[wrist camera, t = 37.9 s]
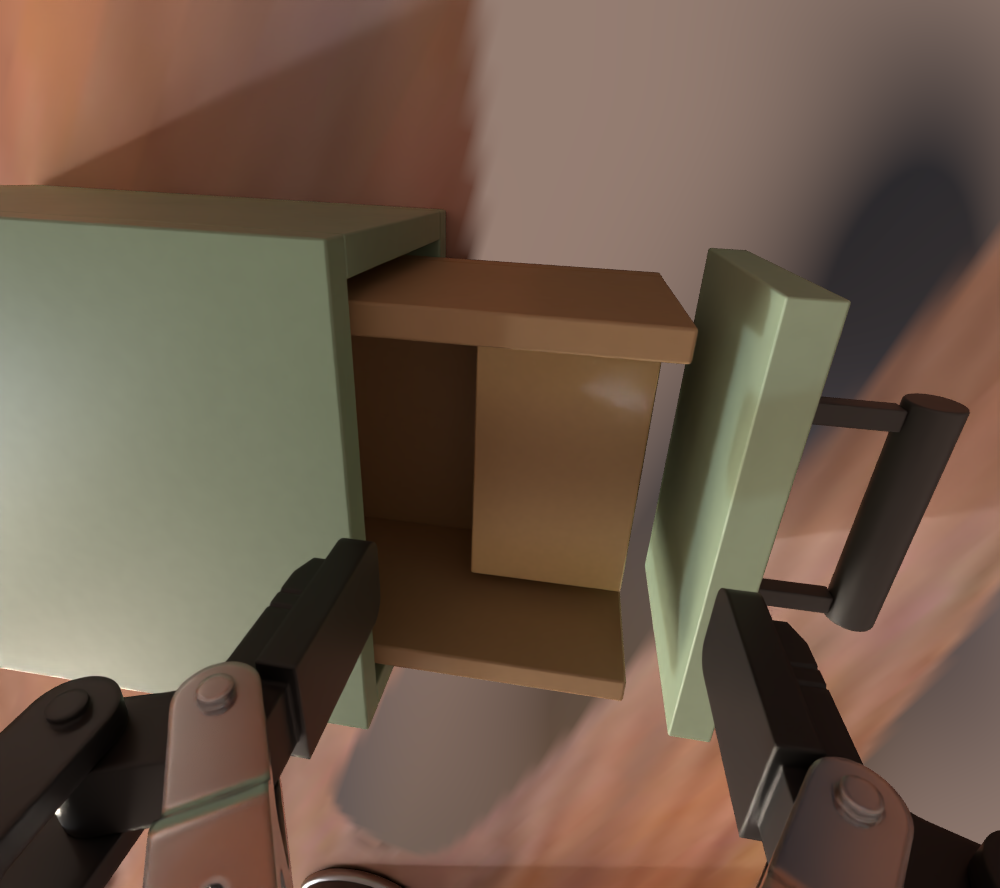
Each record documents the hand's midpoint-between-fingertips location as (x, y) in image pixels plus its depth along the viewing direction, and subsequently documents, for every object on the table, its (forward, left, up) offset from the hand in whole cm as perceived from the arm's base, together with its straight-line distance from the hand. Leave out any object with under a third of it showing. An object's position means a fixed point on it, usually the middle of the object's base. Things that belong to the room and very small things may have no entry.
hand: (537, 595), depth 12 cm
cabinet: (0, +13, -11) cm, 17 cm away
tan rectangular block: (0, 0, -9) cm, 9 cm away
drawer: (0, 0, -10) cm, 10 cm away
